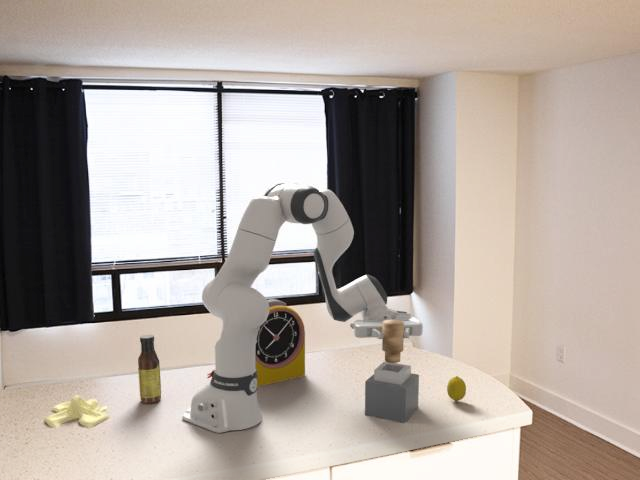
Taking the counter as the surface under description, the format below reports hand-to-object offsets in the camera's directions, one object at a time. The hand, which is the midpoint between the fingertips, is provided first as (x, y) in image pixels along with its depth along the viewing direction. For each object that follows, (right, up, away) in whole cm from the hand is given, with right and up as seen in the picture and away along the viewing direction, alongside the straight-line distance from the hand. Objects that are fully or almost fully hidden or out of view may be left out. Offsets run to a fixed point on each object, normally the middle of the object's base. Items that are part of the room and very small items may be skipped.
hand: (393, 336), depth 174 cm
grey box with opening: (0, -22, +4) cm, 23 cm away
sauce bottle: (-72, -21, +12) cm, 76 cm away
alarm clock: (-37, -19, +31) cm, 52 cm away
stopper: (0, -7, +2) cm, 8 cm away
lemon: (+20, -22, +11) cm, 31 cm away
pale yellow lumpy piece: (-90, -23, +3) cm, 93 cm away
